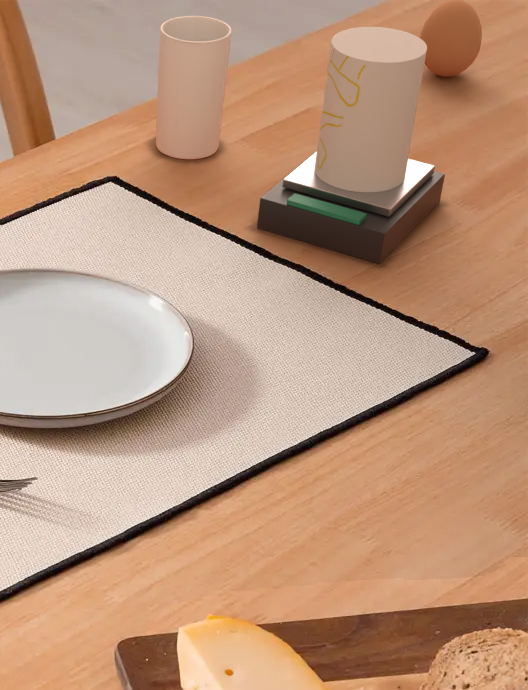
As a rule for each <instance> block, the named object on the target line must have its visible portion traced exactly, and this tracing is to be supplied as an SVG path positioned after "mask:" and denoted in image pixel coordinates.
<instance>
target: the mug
mask: <svg viewBox="0 0 528 690" xmlns="http://www.w3.org/2000/svg"><path fill="white" fill-rule="evenodd" d="M159 30H160V32H159V43H158V44H159V45H158V73H157V97H156V98H157V99H156V116H155V117H156V118H155V119H156V120H155V146H156V148H157V150H158V151H159V152H160V153H161V154H164V155H165V156H168V157H171V158H175V159H179V160H199V159H205V158H207V157H210V156H212V155H214V154H215V153H216V152H217V151H218V149H219V145H220V138H221V130H222V123H223V113H224V106H225V105H224V103H225V95H226V87H227V86H226V85H227V78H228V69H229V60H230V52H231V51H230V50H231V42H232V41H231V38H232V28H231V26H230V25H229V24H228V23H226V22H225V21H223V20H221V19H217V18H214V17H209V16H203V15H184V16H177V17H173V18H169V19H167V20H165V21H164V22H163V23H162V24H161V25H160V29H159Z"/></svg>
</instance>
